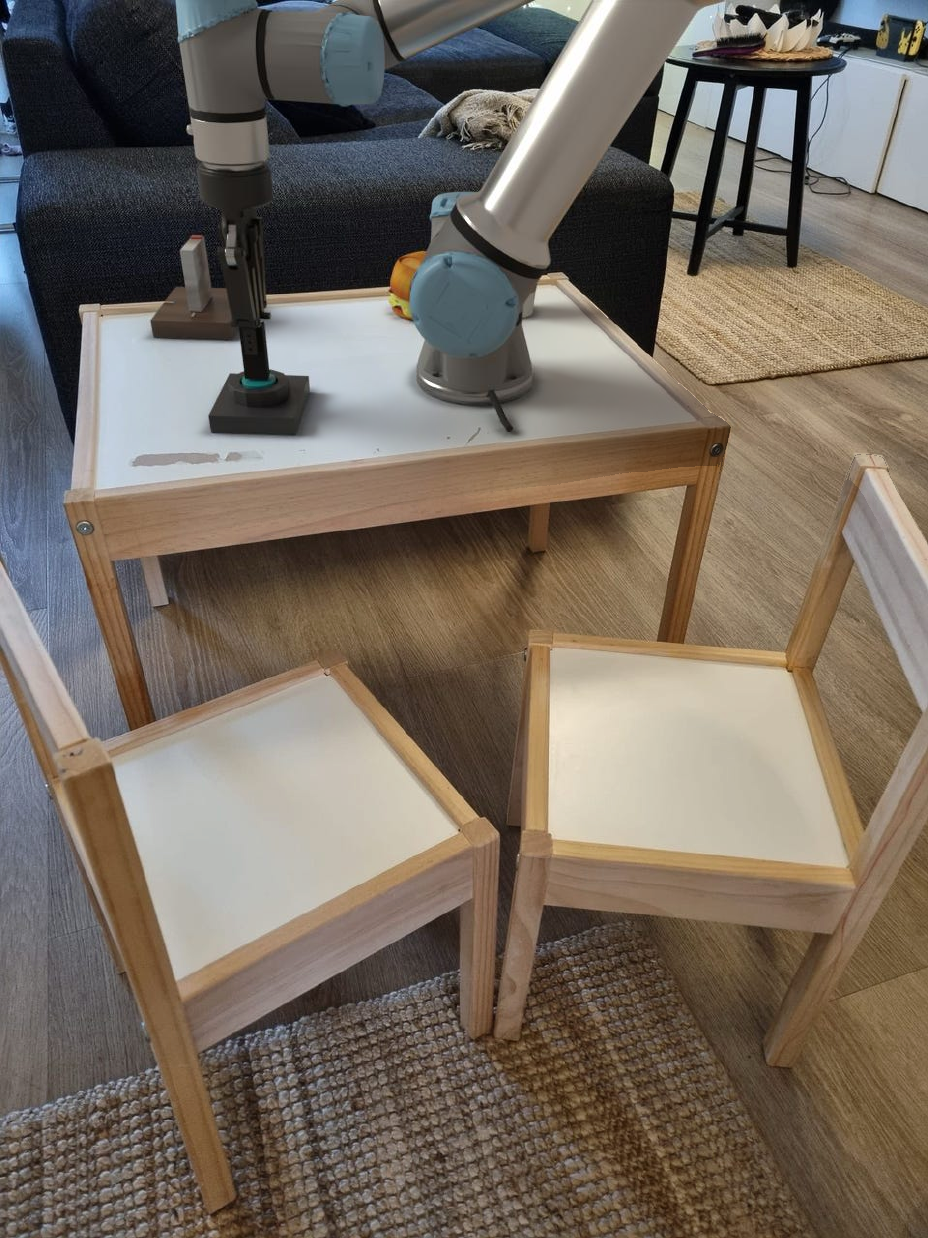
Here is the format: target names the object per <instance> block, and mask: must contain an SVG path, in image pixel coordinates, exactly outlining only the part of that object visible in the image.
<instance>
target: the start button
mask: <svg viewBox="0 0 928 1238" xmlns="http://www.w3.org/2000/svg"><path fill="white" fill-rule="evenodd" d="M274 385H276V378H275V376H274V375H272V374H270V375H269V378H268V380H260V379H245V376H244V377H243V378H242V386H243V387H246V388H249V389H264V388H269V387H272V386H274Z"/></svg>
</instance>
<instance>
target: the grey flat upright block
mask: <svg viewBox="0 0 928 1238" xmlns="http://www.w3.org/2000/svg"><path fill="white" fill-rule="evenodd" d="M179 255H180V260H181V261H180V262H181V266H182V272H183V279H184V287H186V293H187V299H188V306H189V311H193V312H202V311H203V309H204V308H205V306H206V305H207V303H208V302H209V300H210V299H211V298H212V289H211V288H212V283H211V275H210V270H209V268H210V267H209V261H208V254H207V248H206V239H205V237H204V235H201V234H200V235H199V234H192V235H191V236H190V238H189V239H188V240H187V241H186V242H185V243H184V244H183V246H182V247H181V248H180V249H179Z"/></svg>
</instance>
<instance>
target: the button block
mask: <svg viewBox="0 0 928 1238" xmlns="http://www.w3.org/2000/svg"><path fill="white" fill-rule="evenodd" d="M269 372H270V374H272V375H274V376H275V378H276V385H274V386H272V387H269V388H264V389H249V388H246V387H243V386H242V378H243V377H244V376H245V375H244V370H243V371H241V372H238V373H235V372H233V373H232V372H231V373H229V374H228V376H227V379H226V380H225V382H224V384H223V386H222V388H221V389H220V392H219V394H218V396H217V398H216V399H215V402H214V404H213V405H212V407H211V410H210V411H209V413H208V424H209V429H210V433H213V434H214V433H215V434H217V433H218V434H245V435H246V434H247V435H250V434H251V435H275V436H276V435H279V436H280V435H281V436H296V435H297V431H298V429H299V426H300V423H301V419H302V417H303V414H304V411H305V408H306V405H307V402H308V399H309V396H310V393H311V386H310V385H311V384H310V376H309V375H292V374H291V375H289V374H286V373H284V372H280V371H278V370H274V369H272V368H271V369H270V368H269Z"/></svg>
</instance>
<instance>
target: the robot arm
mask: <svg viewBox="0 0 928 1238" xmlns="http://www.w3.org/2000/svg"><path fill="white" fill-rule="evenodd" d="M534 1H535V2H536V0H335V1H333V2H331V3H330V4H329V5H327V6H323V7H321V8H319V9H316V10H314V11H293V10H291V11H287V10H279V11H278V10H272V9H266V8H260V7H259V4H258V3H259V2H257V1H256V0H175V9H176V21H177V33H178V36H177V43H178V44H179V50H180V56H181V63H182V69H183V76H184V82H185V89H186V96H187V103H188V111H189V117H190V124H187V126H186V128H185V129H186V133H187V134H188V135H190V136H193V145H194V146H193V148H194V154H195V155H194V156H195V159H197V160H198V161H199V162H200V163H199V164H198V166H197V167H196V173H197V181H198V187H199V194H200V199H201V201H202V203H203V204H205V205H206V206H208V207H209V208H212V209H213V208H216V209H217V210H218V211H220V212H221V223H218V236H219V240H220V242H221V244H222V246H218V248H217V251H216V253H217V257H218V260H219V262H220V263H219V264H220V266H221V270H222V274H223V275H222V276H223V279H224V280H223V281H224V284H225V288H226V290H227V295H228V300H229V305H230V311H231V316H232V321H231V323H230V324H231V327H238V334H239V341H240V350H241V357H242V367H243V371H244V375H245V379H260V380H268V378H269V375H270V372H269V369H270V363H269V353H268V345H267V333H266V326H265V325H266V324H265V321H270V320H271V318H272V313H271V312H270V311H269V312H266V311H265V309H267V306H268V301H267V287H266V268H265V251H264V226H265V221H264V218H263V217H262V216H258V215H257V214H258V213H257V209H260V208H262V207H266V206H267V205H270V203H271V202H272V201H273V198H274V192H273V182H272V169H271V166H270V165H269V163H268V162H266V161H267V160H268V159H269V158H270V156H271V153H270V142H269V132H268V123H267V122H268V121H267V115H266V114H267V113H266V107H265V106H266V105H265V100H269V101H286V102H287V101H288V102H289V101H290V102H301V103H303V102H304V103H315V104H327V105H328V104H329V105H339V106H340V107H344V108H345V107H347V108H348V107H349V106H352V105H353V106H355V105H359V106H360V105H361V106H363V105H365V106H366V105H367V106H369V105H374V104H375V103H377V102H378V100H380V97H381V95H382V90H383V87H384V81H385V70H388V69H390V68H393V67H394V66H396V65H398V64H400V63H402V62H404V61H406V60H408V59H410V58H413V57H415V56H417V55H419V54H422V53H423V52H425V51H427V50H430V49H432V48H434V47H436V46H439V45H441V44H443V43H445V42H447V41H449V40H452V39H454V38H457V37H458V36H460V35H463V34H465V33H467V32H469V31H471V30H474V29H476V28H478V27H481V26H483V25H485V24H486V23H487V24H488V23H489V22H491V21H493V20H495V19H497V18H500V17H502V16H504V15H506V14H508V13H511V12H513V11H515V10H518V9H520V8H522V7H524V6H526V5H528V4H530V3H533V2H534ZM724 2H726V0H590V2H589V4H588V5H587V8H586V9H585V10H584V12H583V14H582V16H581V18H580V20H579V21H578V23H577V24H576V25H575V28H574V29H573V32H572V33H571V34H570V36H569V38H568V40H567V41H566V43H565V45H564V46H563V48H562V50H561V52H560V53H559V55H558V57H557V59H556V60H555V62H554V64H553V66H552V67H551V69H550V71H549V72H548V74H547V76H546V77H545V78H544V81H543V83H542V84H541V86H540V88H539V90H538V91H537V92H536V95H535V96H534V98H533V100H532V101H531V103H530V105H529V107H528V108H527V110H526V112H525V113H524V115H523V117H522V118H521V120H520V122H519V124H518V125H517V127H516V129H515V130H514V132H513V134H512V136H511V137H510V139H509V141H508V142H507V144H506V146H505V148H504V149H503V151H502V153H501V155H500V156H499V157H498V159H497V161H496V163H495V165H494V166H493V168H492V170H491V172H490V173H489V175H488V176H487V179H486V180H485V182H484V183H483V185H482V187H481V189H480V190H479V191H453V192H451V191H450V192H444V193H440V194H438V195H436V196H435V197H434V199H432V202H431V212H430V215H429V221H430V222H431V231H430V232H431V236H430V243H429V246H428V247H427V250H426V251H427V252H426V254H425V256H424V258H423V260H422V263H421V265H420V266H419V268H418V269H417V271H416V272H415V274H414V276H413V278H412V281H411V287H410V299H409V304H410V312H411V316H412V319H413V320H412V321H413V324H414V326H415V328H416V329H417V332H418V333H419V334H420V336H421V338H423V339H424V341H423V344H422V347H421V350H420V353H419V356H418V359H417V362H416V383H417V385H418V386H419V388H421V390H423V392H425V393H427V394H428V395H430V396H432V397H434V398H436V399H439V400H442V401H446V402H451V403H454V404H455V403H456V404H462V405H475V406H477V405H479V406H480V405H492V406H493V408H494V411H495V413H496V415H497V417H498V420H499V422H500V423H501V425H502V427H503V428H504V430H505V431H506V432H507V433H512V432H513V431H514V426H513V425H512V424H511V422H510V421H509V419H508V418H507V415H506V413H505V410H504V409H503V406H502V404H501V403H506V402H509V401H512V400H515V399H517V398H519V397H521V396H523V395H525V394H526V393H527V392H529V390H530V389H531V386H532V385H533V374H534V373H533V372H534V371H533V363H532V360H531V356H530V353H529V348H528V344H527V341H526V340H527V339H526V336H525V333H524V328H523V318H522V315H523V304H524V302H525V301H526V299H527V298H528V296H529V295H530V293H531V292H532V290H533V289H534V287H535V286H536V284H537V285H538V283H539V281H540V280H541V278H542V277H543V275H544V274H545V272H546V270H547V269H548V267H549V266H550V264H551V262H552V260H551V254H550V248H549V240H550V238H551V237H552V235H553V234H554V233H555V231H556V229H557V227H558V226H559V225H560V223H561V221H562V220H563V218H564V217H565V216H566V214H567V212H568V211H569V209H570V208H571V207H572V204H574V201H575V200H576V199H577V197H578V195H579V194H580V192H581V191H582V189H583V187H584V186H585V185H586V183H587V182H588V180H589V179H590V177H591V176H592V174H593V172H594V171H595V169H596V168H597V167H598V164H599V163H600V162H601V160H602V159H603V157H604V156H605V154H606V153H607V151H608V149H609V148H610V147H611V145H612V143H613V141H614V140H615V139H616V137H617V136H618V134H619V133H620V131H621V130H622V128H623V127H624V125H625V123H626V122H627V120H628V119H629V117H630V116H631V115H632V112H633V111H634V110H635V108H636V106H637V105H638V104H639V102H640V101H641V99H642V98H643V96H644V94H645V93H646V91H647V90H648V88H649V87H650V85H651V84H652V82H654V81H653V80H654V79H655V78H656V76H657V75H658V73H659V72H660V70H661V68H662V67H663V66H664V64H665V62H666V61H667V60H668V58H669V56H670V55H671V53H672V52H673V50H674V49H675V47H676V45H677V44H678V42H679V41H680V40H681V38H682V36H683V35H684V33H685V32H686V30H687V29H688V27H689V25H690V24H691V22H692V21H693V20H694V18H695V16H696V15H697V13H698V12H699V11H701V10H702V9H704V8H706V7H709V6H713V5H717V4H721V3H724ZM262 320H265V321H262Z"/></svg>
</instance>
